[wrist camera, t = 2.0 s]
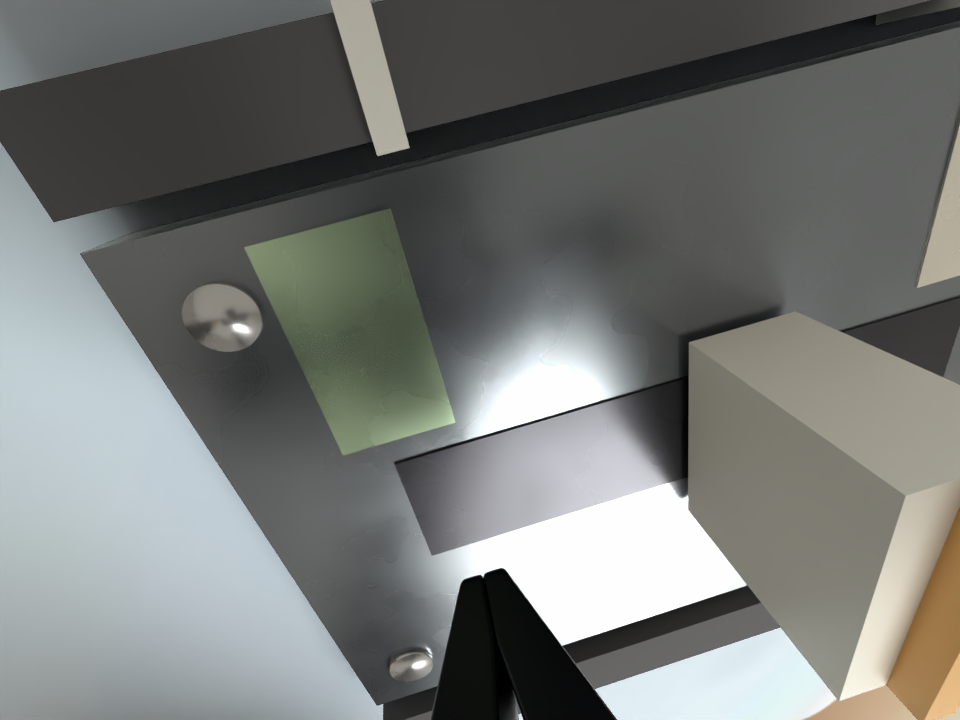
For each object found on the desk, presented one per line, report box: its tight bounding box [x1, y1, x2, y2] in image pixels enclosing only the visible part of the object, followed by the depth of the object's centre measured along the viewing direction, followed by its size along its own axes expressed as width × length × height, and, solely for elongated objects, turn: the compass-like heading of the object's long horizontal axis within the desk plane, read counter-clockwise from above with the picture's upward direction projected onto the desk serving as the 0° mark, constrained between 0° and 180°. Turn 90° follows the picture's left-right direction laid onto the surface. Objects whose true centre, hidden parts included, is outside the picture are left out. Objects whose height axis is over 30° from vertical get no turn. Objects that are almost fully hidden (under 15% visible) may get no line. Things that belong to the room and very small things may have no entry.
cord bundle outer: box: [0, 0, 960, 222], centre depth 7 cm, size 2×20×2 cm, turn 102°
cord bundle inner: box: [383, 585, 780, 720], centre depth 15 cm, size 2×20×2 cm, turn 102°
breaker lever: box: [688, 311, 960, 720], centre depth 8 cm, size 5×2×5 cm, turn 12°
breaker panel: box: [80, 21, 960, 706], centre depth 11 cm, size 14×20×2 cm
